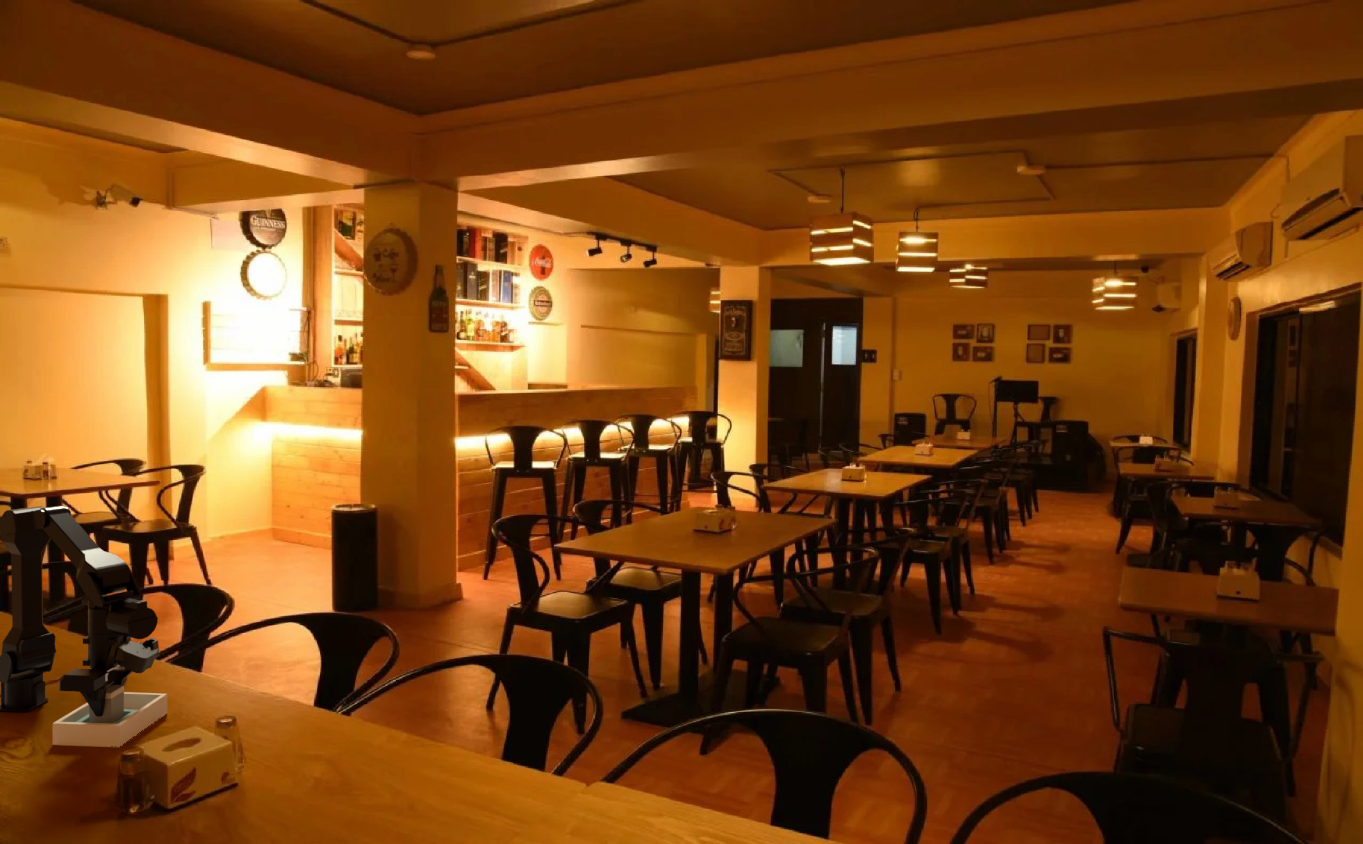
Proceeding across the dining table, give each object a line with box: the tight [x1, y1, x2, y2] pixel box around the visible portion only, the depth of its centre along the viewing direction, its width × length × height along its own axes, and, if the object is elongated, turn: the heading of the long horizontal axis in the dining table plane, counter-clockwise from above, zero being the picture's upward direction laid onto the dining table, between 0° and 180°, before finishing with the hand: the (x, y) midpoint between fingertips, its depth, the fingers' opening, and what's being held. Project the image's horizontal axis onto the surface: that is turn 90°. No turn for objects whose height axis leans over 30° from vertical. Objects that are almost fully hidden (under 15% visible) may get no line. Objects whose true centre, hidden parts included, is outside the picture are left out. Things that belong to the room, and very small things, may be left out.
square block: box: [89, 684, 125, 724], centre depth 174 cm, size 4×4×6 cm
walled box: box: [52, 691, 168, 748], centre depth 176 cm, size 12×16×4 cm
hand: (106, 712), depth 174 cm, fingers closed on square block, 4 cm apart
